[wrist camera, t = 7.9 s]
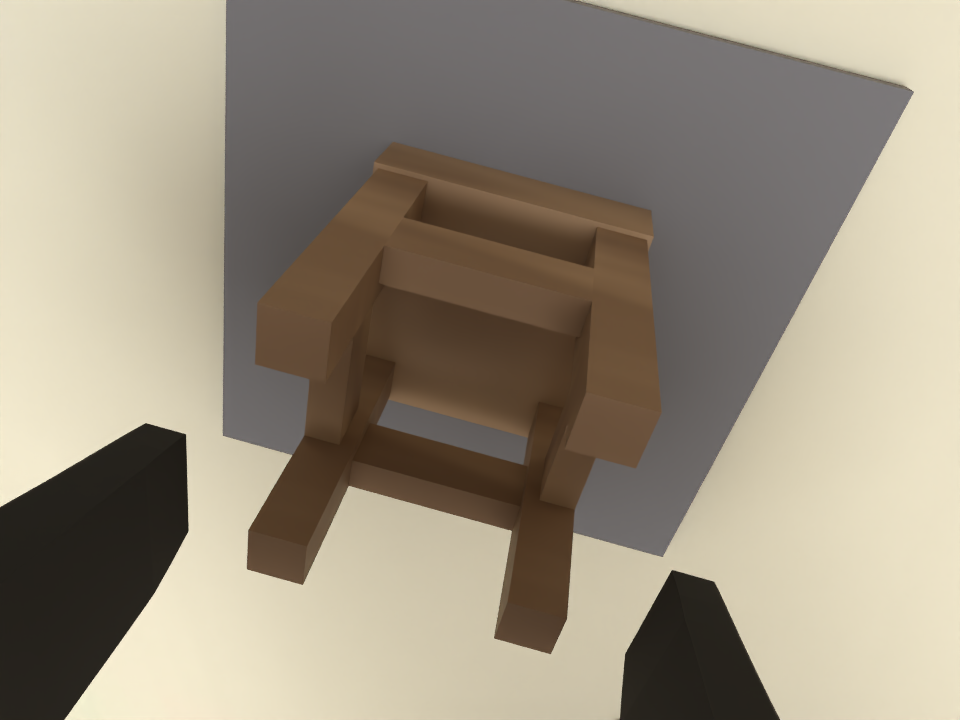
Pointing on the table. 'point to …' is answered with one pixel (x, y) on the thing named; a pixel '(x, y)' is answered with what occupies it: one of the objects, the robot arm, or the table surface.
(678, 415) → the mat
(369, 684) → the table surface
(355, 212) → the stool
